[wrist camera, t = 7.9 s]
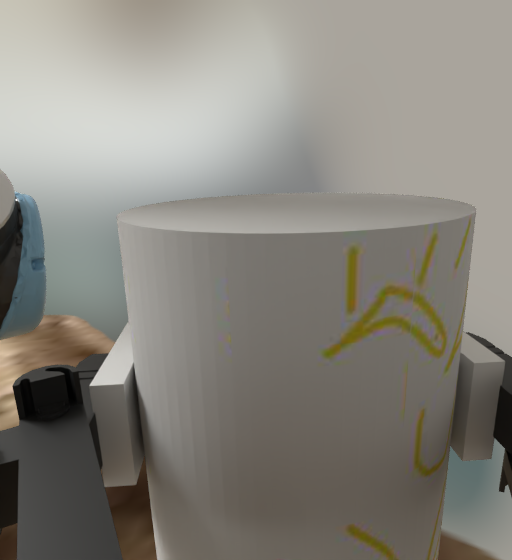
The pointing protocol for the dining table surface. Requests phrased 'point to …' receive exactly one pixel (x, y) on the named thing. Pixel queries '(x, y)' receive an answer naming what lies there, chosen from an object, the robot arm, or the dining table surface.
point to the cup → (297, 370)
